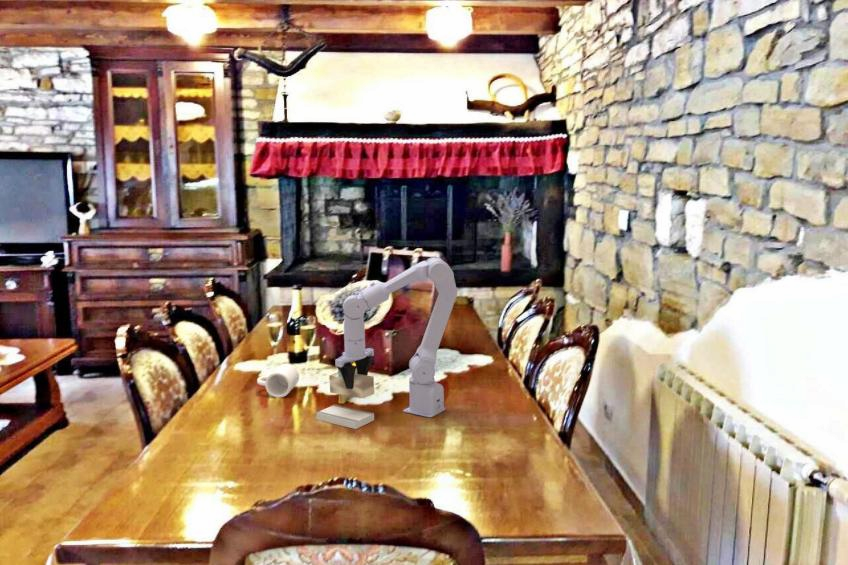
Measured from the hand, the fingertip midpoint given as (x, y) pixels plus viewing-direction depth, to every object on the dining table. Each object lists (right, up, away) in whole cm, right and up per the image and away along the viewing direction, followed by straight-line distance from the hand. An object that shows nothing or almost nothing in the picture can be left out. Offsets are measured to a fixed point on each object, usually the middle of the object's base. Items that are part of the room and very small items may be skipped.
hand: (355, 385), depth 200 cm
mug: (-27, -6, +22) cm, 35 cm away
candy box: (-4, -6, +19) cm, 20 cm away
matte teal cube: (-3, +3, +1) cm, 4 cm away
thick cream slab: (-1, -2, +1) cm, 3 cm away
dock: (-3, -9, -3) cm, 10 cm away
